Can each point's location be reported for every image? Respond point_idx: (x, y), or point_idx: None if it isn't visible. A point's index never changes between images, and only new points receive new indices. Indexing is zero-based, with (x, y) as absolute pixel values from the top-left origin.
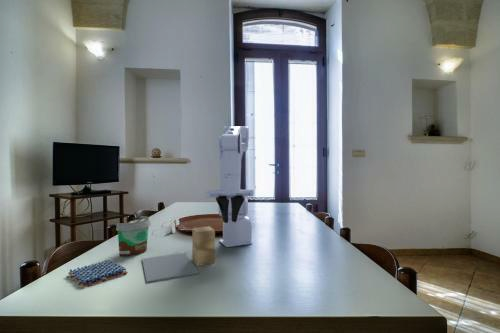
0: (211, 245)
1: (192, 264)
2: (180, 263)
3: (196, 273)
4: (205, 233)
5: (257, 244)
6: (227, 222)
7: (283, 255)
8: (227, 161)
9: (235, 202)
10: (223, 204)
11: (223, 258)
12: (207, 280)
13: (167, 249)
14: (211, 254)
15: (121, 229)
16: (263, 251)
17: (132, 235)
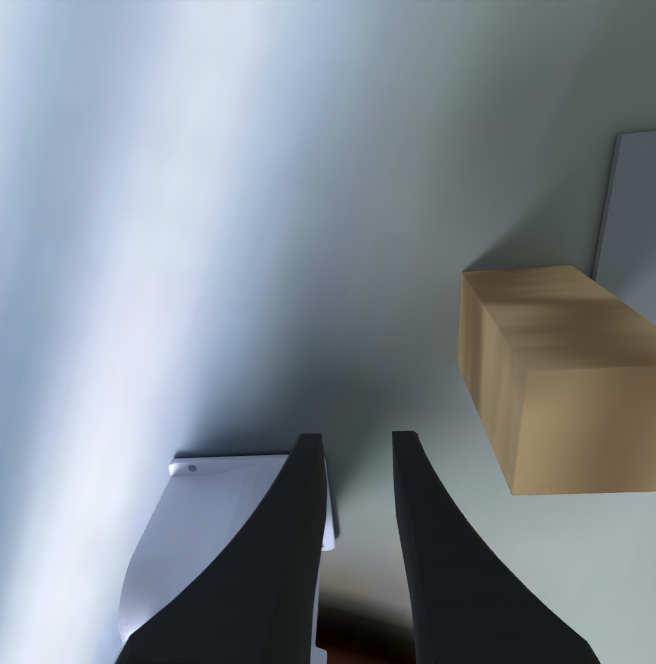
0: (515, 312)
1: (601, 268)
2: (654, 306)
3: (632, 133)
4: (609, 357)
5: (145, 446)
6: (396, 432)
7: (31, 238)
8: None
9: (283, 644)
10: (523, 598)
11: (392, 315)
12: (613, 2)
13: (614, 522)
14: (496, 288)
15: None
16: (138, 339)
17: None
